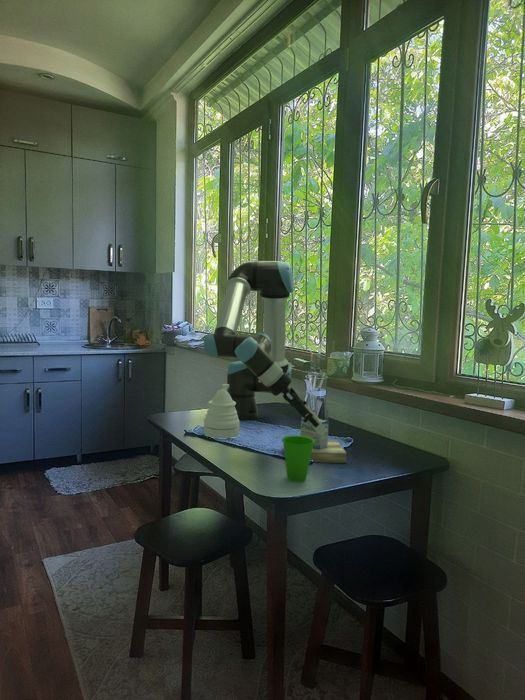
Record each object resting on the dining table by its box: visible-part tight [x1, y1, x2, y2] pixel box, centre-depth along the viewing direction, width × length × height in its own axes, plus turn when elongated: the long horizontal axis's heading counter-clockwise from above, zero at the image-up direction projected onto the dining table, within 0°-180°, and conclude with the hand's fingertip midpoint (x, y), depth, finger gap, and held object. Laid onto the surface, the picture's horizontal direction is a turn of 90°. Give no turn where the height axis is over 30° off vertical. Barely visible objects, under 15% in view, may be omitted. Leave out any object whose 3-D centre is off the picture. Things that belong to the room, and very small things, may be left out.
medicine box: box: [299, 417, 330, 449], centre depth 156 cm, size 8×4×9 cm, turn 51°
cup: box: [281, 434, 315, 483], centre depth 135 cm, size 9×9×11 cm
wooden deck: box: [282, 439, 347, 464], centre depth 157 cm, size 14×18×3 cm
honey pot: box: [203, 383, 241, 438], centre depth 176 cm, size 13×13×18 cm
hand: (320, 427), depth 156 cm, fingers open, 13 cm apart
